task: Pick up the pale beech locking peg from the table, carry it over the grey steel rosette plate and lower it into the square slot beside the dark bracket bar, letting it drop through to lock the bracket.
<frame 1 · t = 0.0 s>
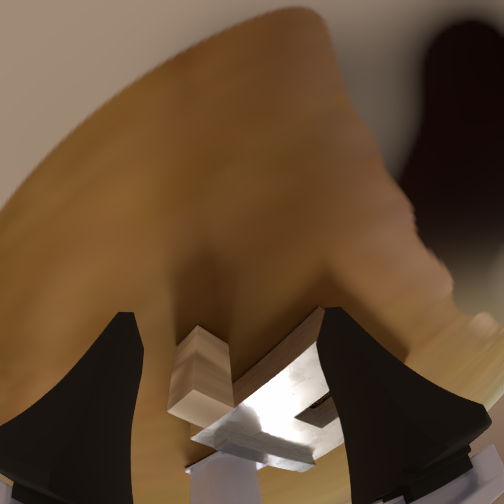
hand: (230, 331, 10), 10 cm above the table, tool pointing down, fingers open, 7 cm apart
peg: (201, 346, 23), on the table
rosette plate: (303, 401, 27), on the table
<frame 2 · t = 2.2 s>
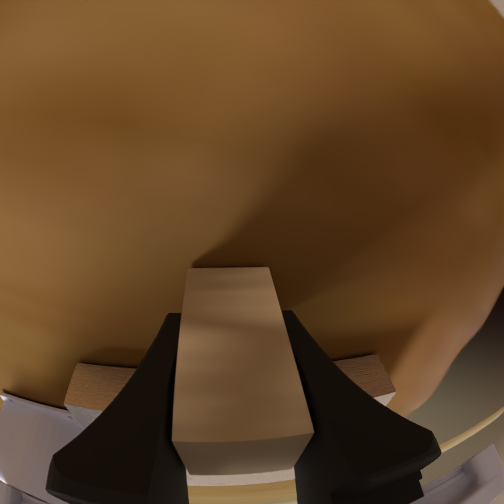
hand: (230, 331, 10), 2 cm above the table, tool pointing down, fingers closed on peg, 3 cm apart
peg: (228, 299, 12), on the table, touching gripper
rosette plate: (229, 429, 19), on the table
when the fingers open (4 cm above the table, at t = 5.3 s): peg drops 2 cm, resting in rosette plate.
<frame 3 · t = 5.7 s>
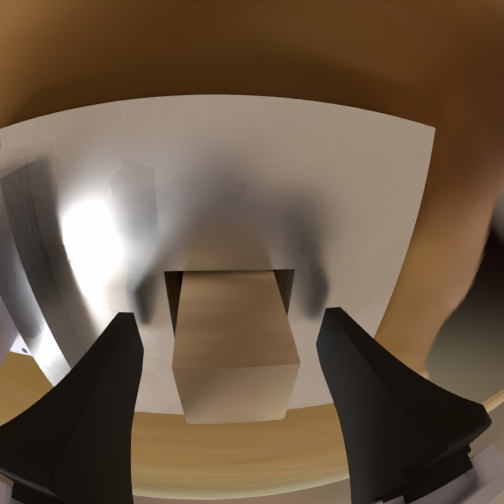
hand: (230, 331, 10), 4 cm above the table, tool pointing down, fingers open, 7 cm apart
peg: (225, 266, 13), resting in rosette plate
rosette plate: (184, 276, 13), on the table
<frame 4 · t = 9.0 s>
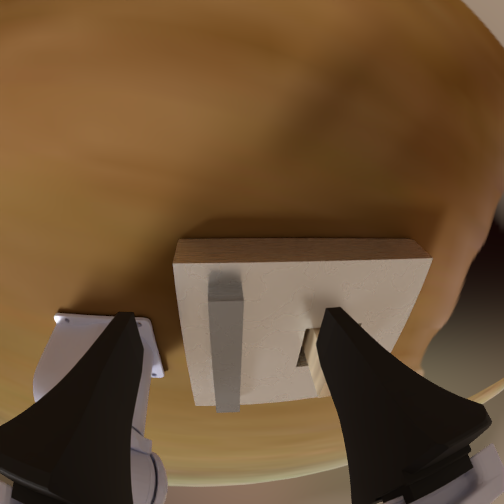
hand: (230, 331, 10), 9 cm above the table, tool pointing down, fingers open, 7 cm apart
peg: (318, 316, 24), resting in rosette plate
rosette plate: (295, 322, 24), on the table
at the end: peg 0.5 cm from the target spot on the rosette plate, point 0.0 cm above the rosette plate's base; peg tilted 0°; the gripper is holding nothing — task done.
